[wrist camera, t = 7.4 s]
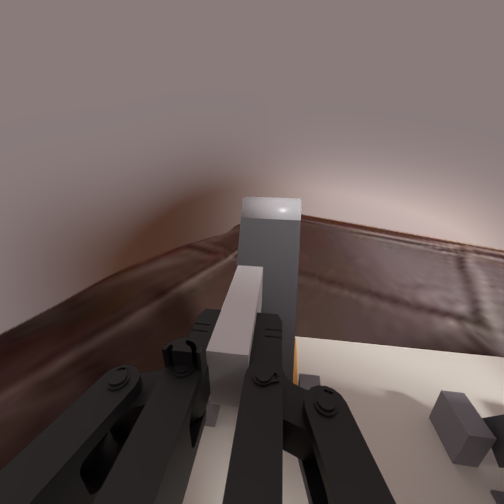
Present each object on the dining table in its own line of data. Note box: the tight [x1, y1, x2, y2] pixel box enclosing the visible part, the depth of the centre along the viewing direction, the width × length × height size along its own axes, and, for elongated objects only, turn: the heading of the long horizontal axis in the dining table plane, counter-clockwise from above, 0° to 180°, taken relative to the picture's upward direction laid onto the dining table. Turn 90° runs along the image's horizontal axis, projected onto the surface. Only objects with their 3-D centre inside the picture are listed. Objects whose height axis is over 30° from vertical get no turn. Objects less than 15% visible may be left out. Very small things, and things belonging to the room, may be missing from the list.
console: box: [183, 336, 504, 504], centre depth 15 cm, size 26×14×7 cm, turn 82°
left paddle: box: [236, 197, 301, 383], centre depth 17 cm, size 4×2×13 cm
